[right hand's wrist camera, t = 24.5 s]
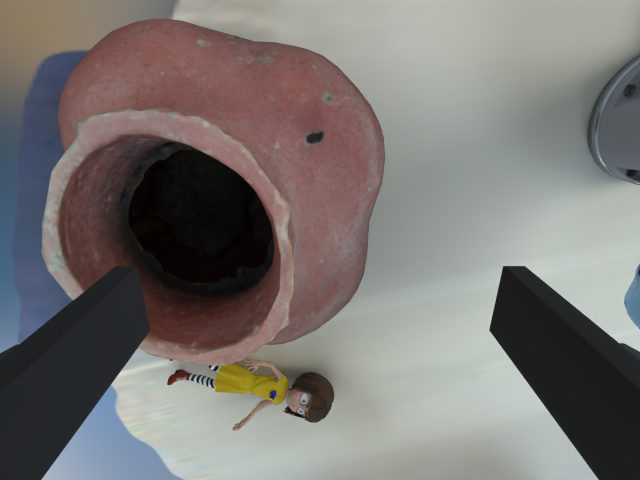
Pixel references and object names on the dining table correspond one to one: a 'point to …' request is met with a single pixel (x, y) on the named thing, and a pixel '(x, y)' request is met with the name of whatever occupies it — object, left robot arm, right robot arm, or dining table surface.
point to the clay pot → (214, 186)
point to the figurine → (269, 389)
